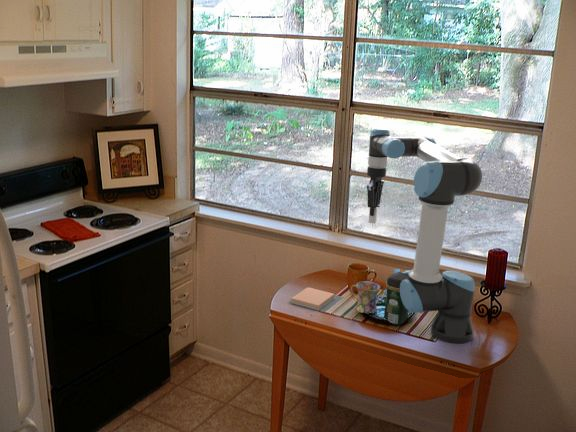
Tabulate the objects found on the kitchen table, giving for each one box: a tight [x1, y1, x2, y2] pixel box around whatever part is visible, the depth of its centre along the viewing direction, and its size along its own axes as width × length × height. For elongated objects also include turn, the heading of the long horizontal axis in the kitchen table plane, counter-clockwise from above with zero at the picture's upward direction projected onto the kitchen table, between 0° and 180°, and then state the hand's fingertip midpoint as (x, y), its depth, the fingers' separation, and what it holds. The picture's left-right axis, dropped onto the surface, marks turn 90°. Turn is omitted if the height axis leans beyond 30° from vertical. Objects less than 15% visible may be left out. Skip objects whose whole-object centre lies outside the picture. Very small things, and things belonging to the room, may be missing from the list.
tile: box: [290, 286, 335, 311], centre depth 260 cm, size 2×12×14 cm
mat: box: [287, 294, 345, 313], centre depth 261 cm, size 18×16×1 cm
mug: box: [350, 280, 381, 314], centre depth 254 cm, size 12×9×11 cm
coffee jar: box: [383, 271, 409, 326], centre depth 245 cm, size 10×8×19 cm
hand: (372, 222), depth 269 cm, fingers closed
